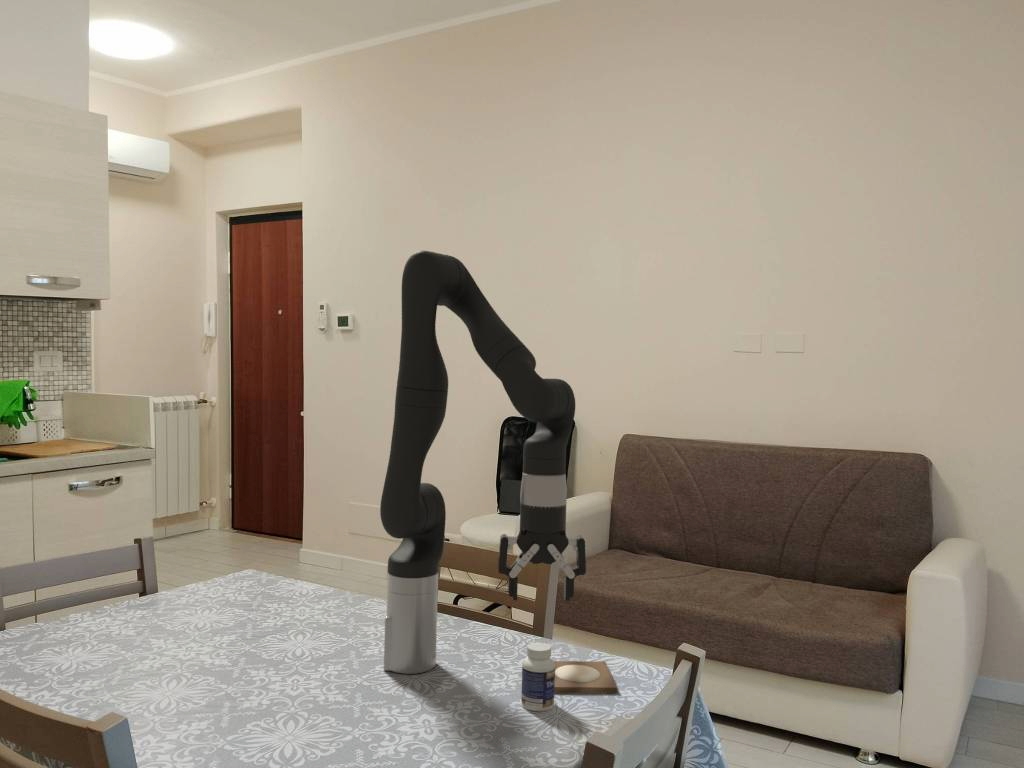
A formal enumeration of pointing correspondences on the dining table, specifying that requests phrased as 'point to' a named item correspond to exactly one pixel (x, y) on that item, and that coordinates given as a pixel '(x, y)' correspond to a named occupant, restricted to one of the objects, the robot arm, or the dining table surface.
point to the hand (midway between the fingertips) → (540, 599)
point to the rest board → (583, 677)
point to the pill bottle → (538, 678)
